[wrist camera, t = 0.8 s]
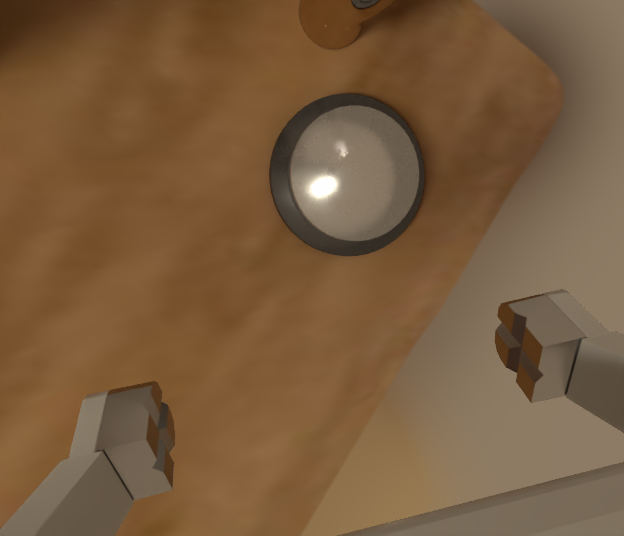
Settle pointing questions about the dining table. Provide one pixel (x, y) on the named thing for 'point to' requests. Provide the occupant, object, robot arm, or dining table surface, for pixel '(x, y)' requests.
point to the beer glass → (337, 19)
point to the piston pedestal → (347, 175)
